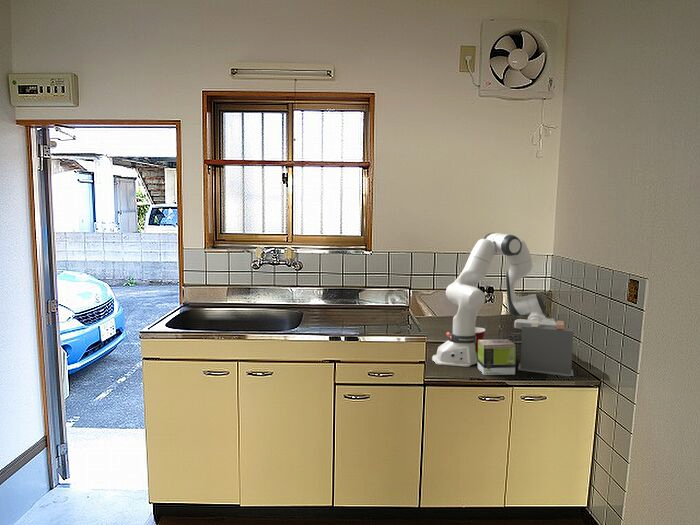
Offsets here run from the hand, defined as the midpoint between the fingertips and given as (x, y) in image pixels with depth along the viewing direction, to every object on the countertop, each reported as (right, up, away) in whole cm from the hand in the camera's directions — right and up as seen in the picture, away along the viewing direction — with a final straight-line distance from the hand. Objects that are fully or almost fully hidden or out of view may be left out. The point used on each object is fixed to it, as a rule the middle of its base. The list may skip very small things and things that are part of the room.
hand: (534, 328), depth 234 cm
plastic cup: (-23, -16, +25) cm, 37 cm away
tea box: (-22, -19, -9) cm, 31 cm away
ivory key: (-2, -2, -5) cm, 6 cm away
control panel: (+2, -19, -7) cm, 20 cm away
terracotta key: (+8, -3, -8) cm, 12 cm away
